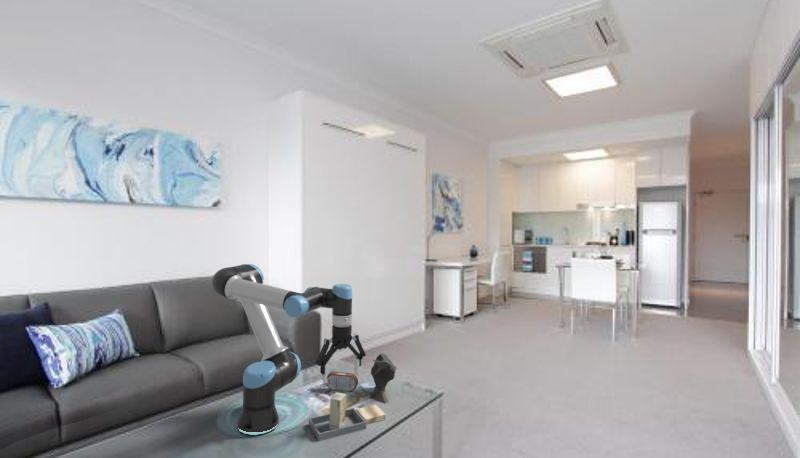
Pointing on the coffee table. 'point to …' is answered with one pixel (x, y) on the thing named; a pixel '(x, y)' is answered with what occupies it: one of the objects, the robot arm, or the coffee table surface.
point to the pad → (371, 414)
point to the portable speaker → (342, 381)
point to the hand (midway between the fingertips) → (341, 378)
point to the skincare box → (337, 411)
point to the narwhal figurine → (382, 377)
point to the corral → (338, 431)
